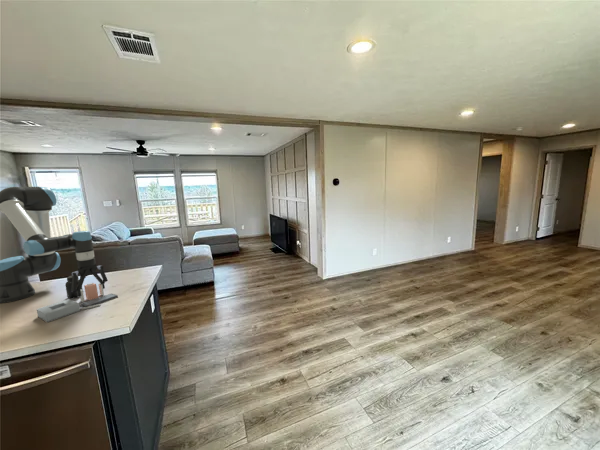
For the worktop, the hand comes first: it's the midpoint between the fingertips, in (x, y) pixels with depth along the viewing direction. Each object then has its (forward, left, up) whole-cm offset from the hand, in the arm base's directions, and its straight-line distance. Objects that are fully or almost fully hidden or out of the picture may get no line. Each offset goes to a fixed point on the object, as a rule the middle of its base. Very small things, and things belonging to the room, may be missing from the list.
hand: (92, 297), depth 137 cm
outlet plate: (+7, -16, 0) cm, 17 cm away
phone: (+9, 0, 0) cm, 9 cm away
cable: (+14, -7, 0) cm, 15 cm away
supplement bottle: (-13, -3, 0) cm, 14 cm away
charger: (0, 0, 0) cm, 0 cm away
